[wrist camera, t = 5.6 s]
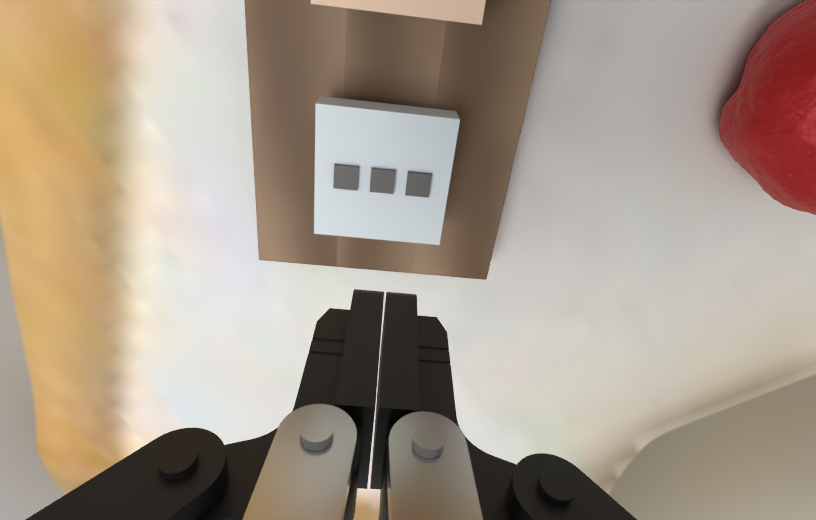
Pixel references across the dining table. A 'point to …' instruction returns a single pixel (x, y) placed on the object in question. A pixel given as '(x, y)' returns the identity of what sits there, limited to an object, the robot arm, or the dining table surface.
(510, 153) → the key board
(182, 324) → the dining table surface
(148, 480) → the robot arm
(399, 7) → the key two
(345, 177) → the key three
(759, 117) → the pomegranate
